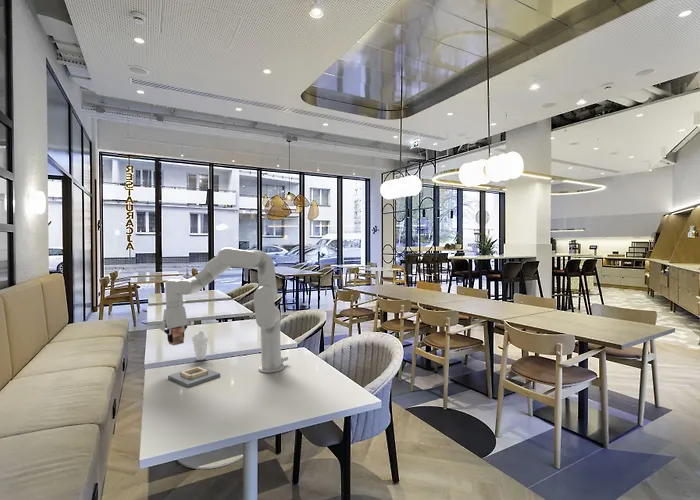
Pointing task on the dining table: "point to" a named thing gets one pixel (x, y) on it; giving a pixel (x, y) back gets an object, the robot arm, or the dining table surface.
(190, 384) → the slate board
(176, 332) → the block stack
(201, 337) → the soft serve ice cream cone
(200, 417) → the dining table surface
